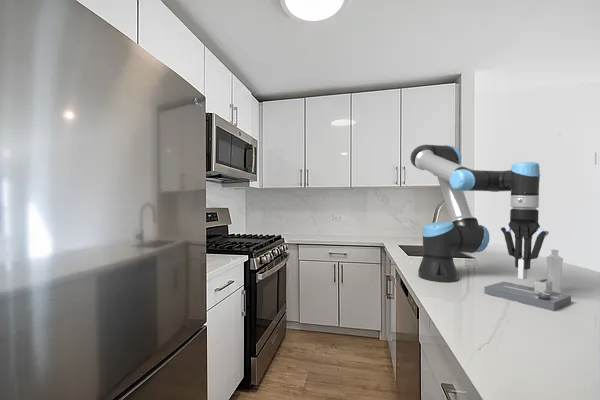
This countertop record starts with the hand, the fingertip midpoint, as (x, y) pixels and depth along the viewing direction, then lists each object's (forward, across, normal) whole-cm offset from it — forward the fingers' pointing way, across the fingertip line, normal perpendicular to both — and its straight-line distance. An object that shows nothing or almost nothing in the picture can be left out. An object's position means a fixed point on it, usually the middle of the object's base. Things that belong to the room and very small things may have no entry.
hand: (522, 278), depth 97 cm
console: (+6, +1, 0) cm, 6 cm away
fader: (+3, +6, 0) cm, 7 cm away
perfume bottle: (+7, +3, +19) cm, 20 cm away
